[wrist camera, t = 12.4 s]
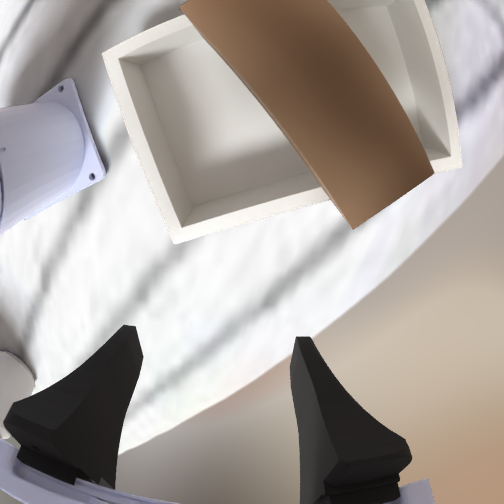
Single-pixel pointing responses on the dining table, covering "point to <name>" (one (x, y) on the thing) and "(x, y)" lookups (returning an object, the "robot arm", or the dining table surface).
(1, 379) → the can
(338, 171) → the wooden block
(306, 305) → the dining table surface
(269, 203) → the bin
